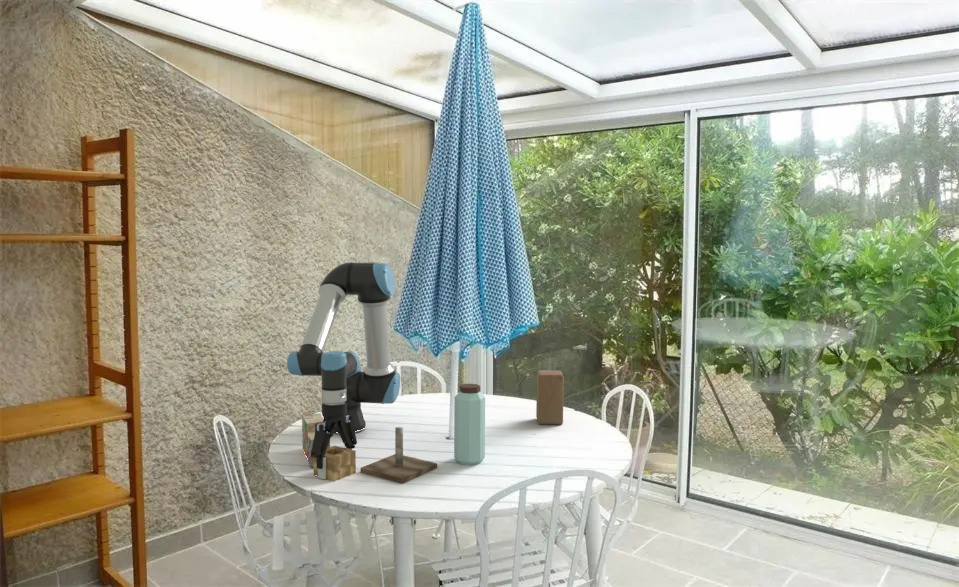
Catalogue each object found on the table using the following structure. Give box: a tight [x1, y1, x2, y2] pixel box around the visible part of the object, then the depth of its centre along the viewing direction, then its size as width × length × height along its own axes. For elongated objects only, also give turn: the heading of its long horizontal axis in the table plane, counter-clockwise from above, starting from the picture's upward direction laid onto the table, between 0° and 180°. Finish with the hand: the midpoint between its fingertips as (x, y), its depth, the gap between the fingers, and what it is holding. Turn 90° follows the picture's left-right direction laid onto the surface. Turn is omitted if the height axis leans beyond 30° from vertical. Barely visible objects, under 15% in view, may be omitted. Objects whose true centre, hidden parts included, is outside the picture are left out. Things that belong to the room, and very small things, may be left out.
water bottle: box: [453, 383, 486, 466], centre depth 223 cm, size 10×10×25 cm
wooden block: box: [535, 369, 565, 426], centre depth 272 cm, size 10×10×20 cm
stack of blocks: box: [301, 412, 331, 468], centre depth 226 cm, size 21×6×12 cm, turn 21°
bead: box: [313, 445, 357, 482], centre depth 210 cm, size 9×9×7 cm
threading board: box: [359, 426, 438, 485], centre depth 214 cm, size 17×17×14 cm
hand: (334, 473), depth 210 cm, fingers open, 10 cm apart
